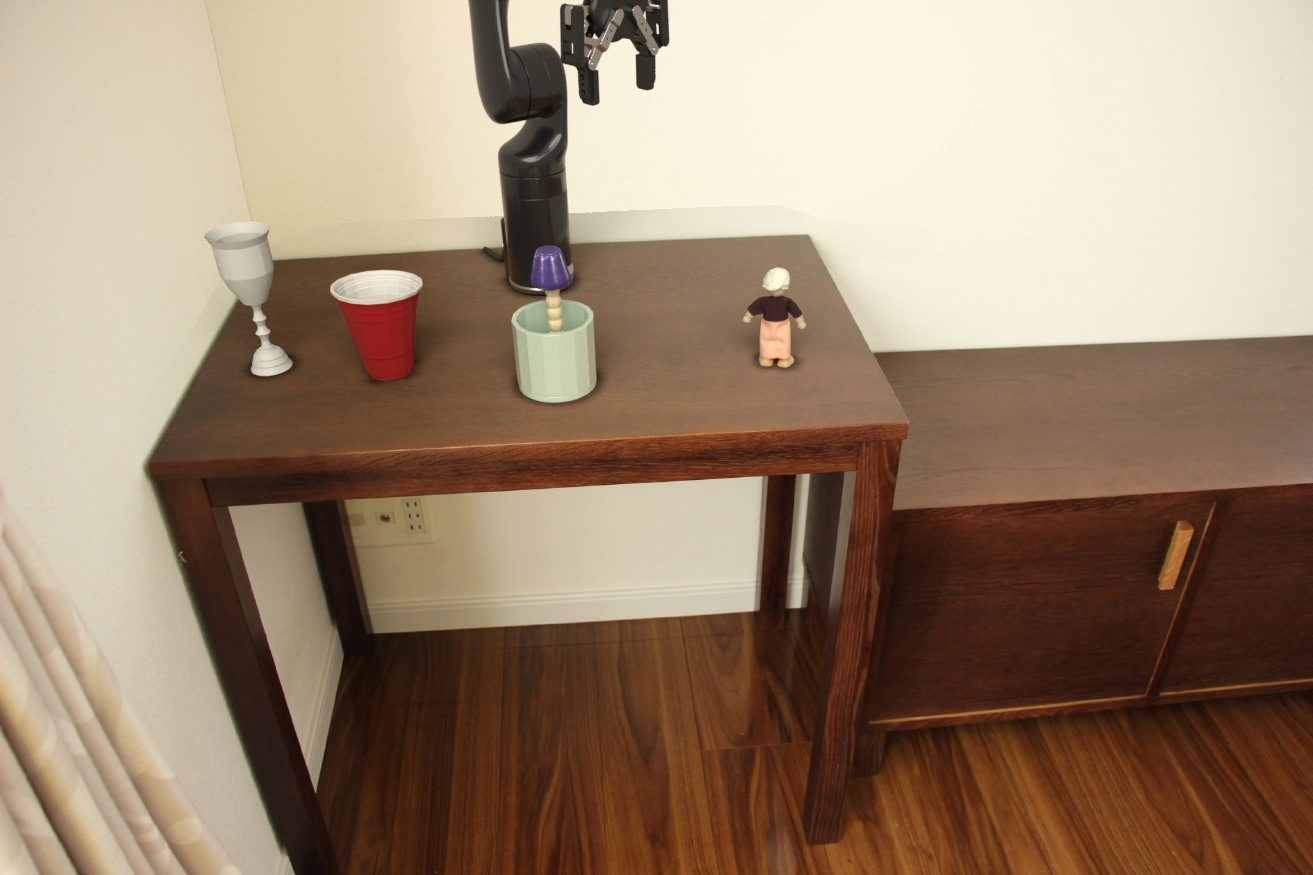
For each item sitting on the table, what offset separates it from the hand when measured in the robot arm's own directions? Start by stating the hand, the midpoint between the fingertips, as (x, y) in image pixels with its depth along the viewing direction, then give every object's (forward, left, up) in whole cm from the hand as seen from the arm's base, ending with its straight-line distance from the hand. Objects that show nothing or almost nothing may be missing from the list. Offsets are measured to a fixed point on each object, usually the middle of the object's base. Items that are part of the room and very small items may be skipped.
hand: (618, 96), depth 111 cm
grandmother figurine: (+16, +10, -32) cm, 37 cm away
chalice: (-30, -34, -32) cm, 56 cm away
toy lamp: (0, -12, -32) cm, 34 cm away
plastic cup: (-18, -24, -32) cm, 44 cm away
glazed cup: (0, -12, -32) cm, 34 cm away
